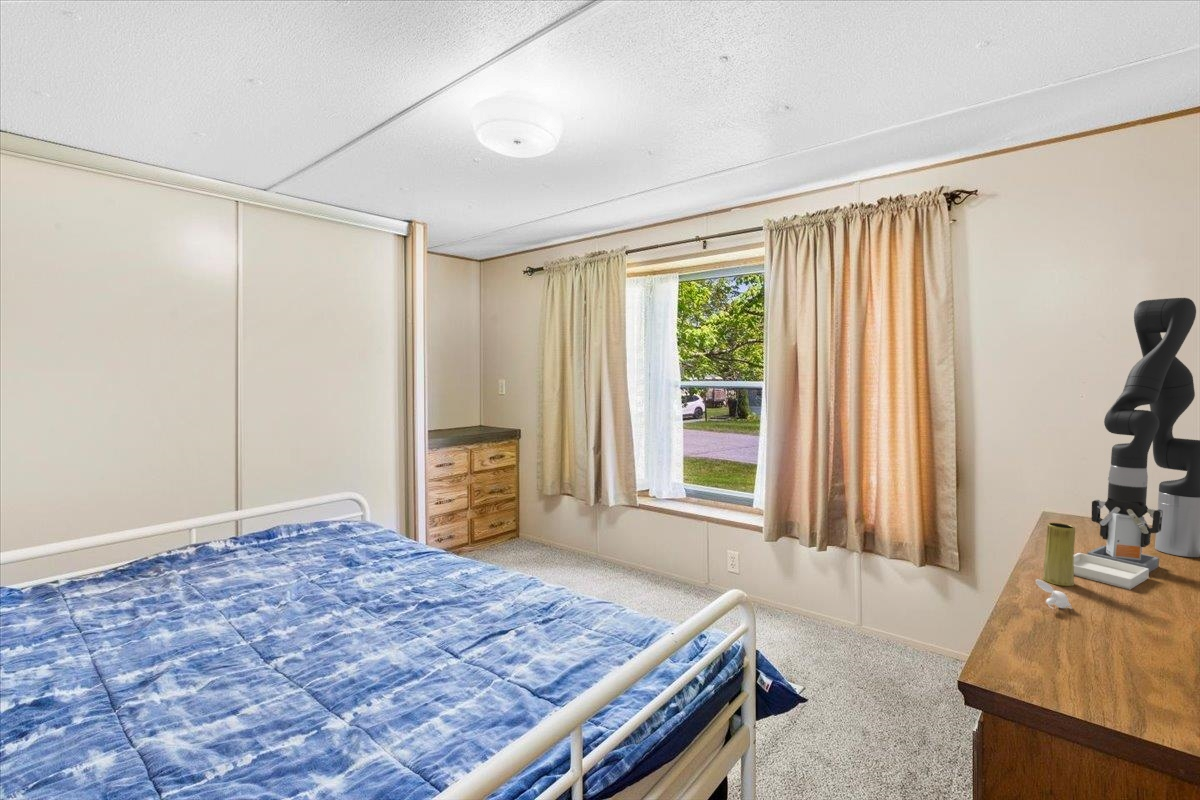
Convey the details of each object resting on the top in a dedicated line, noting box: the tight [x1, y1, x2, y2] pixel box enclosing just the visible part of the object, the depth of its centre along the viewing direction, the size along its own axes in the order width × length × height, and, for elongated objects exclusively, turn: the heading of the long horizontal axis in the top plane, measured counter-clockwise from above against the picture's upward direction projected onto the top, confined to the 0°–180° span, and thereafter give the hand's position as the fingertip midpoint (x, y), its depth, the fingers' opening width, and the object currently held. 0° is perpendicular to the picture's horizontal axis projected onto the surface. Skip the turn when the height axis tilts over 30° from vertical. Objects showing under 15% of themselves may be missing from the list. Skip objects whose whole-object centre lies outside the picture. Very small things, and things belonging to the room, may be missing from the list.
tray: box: [1074, 552, 1150, 590], centre depth 140 cm, size 14×14×2 cm
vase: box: [1041, 522, 1076, 587], centre depth 135 cm, size 6×6×14 cm
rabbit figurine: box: [1035, 579, 1073, 610], centre depth 120 cm, size 6×4×8 cm
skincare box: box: [1105, 510, 1145, 560], centre depth 148 cm, size 6×4×12 cm
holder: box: [1087, 545, 1160, 573], centre depth 148 cm, size 12×12×2 cm
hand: (1124, 542), depth 148 cm, fingers closed on skincare box, 7 cm apart
